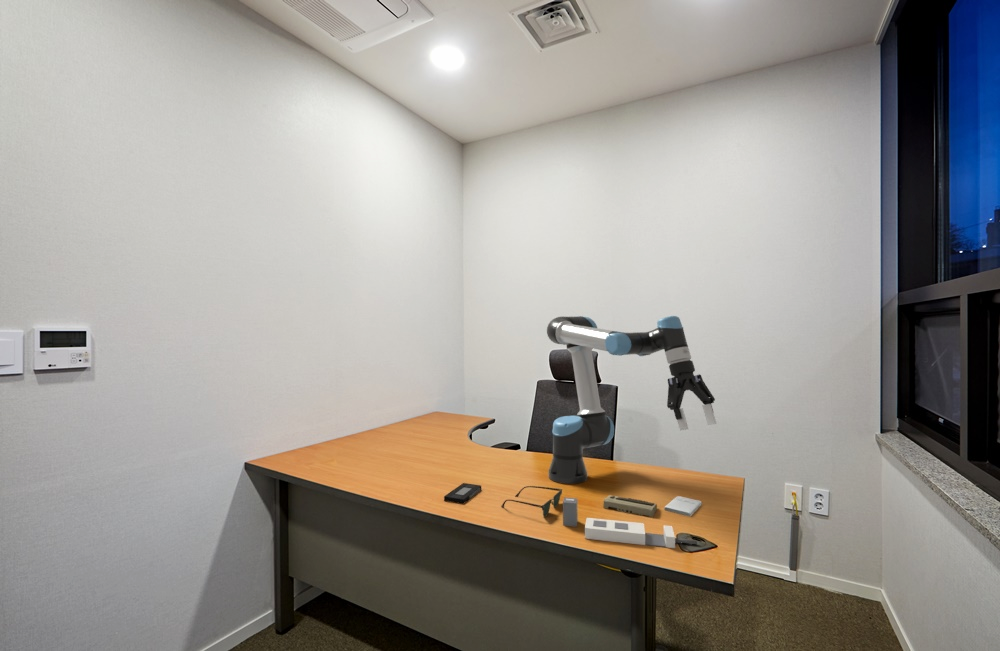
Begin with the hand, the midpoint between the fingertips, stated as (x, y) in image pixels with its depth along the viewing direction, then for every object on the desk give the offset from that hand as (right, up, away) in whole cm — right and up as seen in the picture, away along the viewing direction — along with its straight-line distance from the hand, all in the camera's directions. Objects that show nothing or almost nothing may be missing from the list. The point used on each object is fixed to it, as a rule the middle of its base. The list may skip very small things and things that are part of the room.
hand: (698, 427), depth 145 cm
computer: (-20, -28, +5) cm, 35 cm away
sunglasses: (-53, -28, +7) cm, 60 cm away
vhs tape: (-76, -29, +17) cm, 83 cm away
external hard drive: (-3, -28, +6) cm, 29 cm away
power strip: (-24, -28, -16) cm, 40 cm away
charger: (-42, -28, -6) cm, 50 cm away
